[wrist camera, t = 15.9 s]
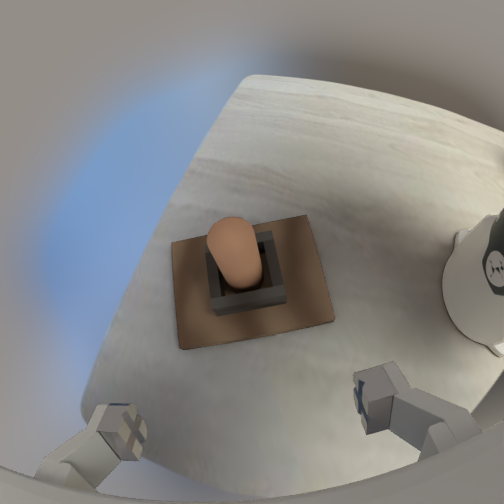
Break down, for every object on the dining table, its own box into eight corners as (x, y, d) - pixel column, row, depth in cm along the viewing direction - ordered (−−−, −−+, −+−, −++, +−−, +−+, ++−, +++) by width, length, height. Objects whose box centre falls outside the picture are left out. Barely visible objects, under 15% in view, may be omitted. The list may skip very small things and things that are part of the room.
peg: (260, 258, 38) (250, 212, 30) (267, 291, 36) (258, 253, 28) (225, 265, 39) (204, 222, 30) (230, 299, 37) (209, 264, 28)
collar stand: (306, 220, 42) (307, 201, 38) (333, 321, 35) (338, 311, 31) (175, 247, 42) (163, 231, 38) (183, 349, 36) (170, 343, 32)
